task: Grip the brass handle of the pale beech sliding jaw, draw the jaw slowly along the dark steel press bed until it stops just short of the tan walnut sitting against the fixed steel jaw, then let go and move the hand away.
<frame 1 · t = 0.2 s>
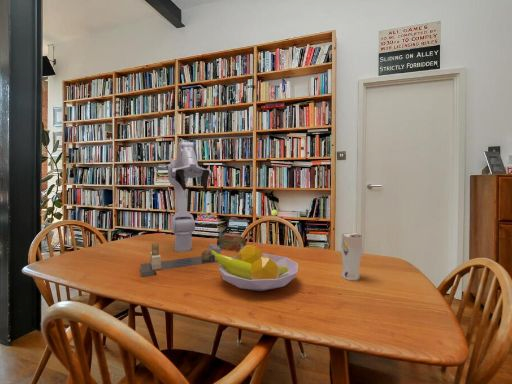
hand: (195, 188, 96), 31 cm above the table, tool tilted 45°, fingers open, 7 cm apart
sliding jaw: (155, 254, 100), point 6 cm above the table, slide at 0.0 cm
beer glass: (350, 277, 94), on the table
fruit bowl: (255, 282, 90), on the table
tin: (231, 253, 123), on the table
walnut: (206, 259, 109), point 1 cm above the table, touching press bed
press bed: (182, 266, 105), on the table
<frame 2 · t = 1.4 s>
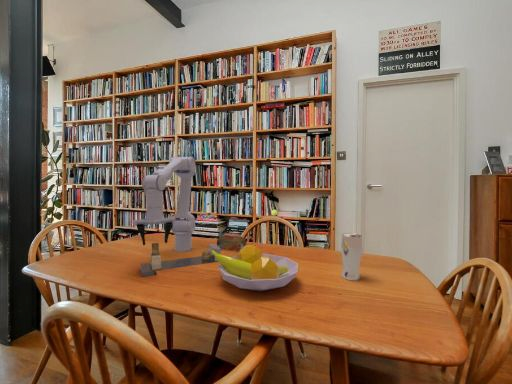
hand: (155, 243, 100), 10 cm above the table, tool pointing down, fingers open, 7 cm apart
nothing on the table moved.
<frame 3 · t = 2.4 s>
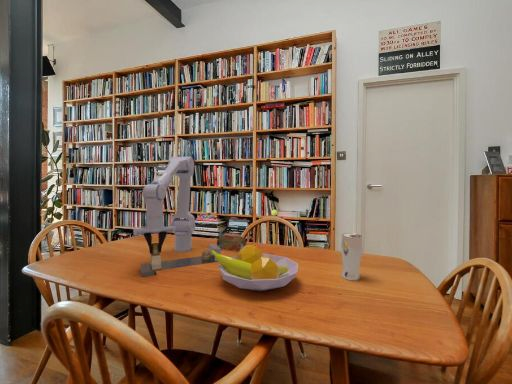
hand: (155, 252, 100), 7 cm above the table, tool pointing down, fingers closed on sliding jaw, 2 cm apart
sliding jaw: (155, 254, 100), point 6 cm above the table, slide at 0.0 cm, touching gripper
everything else where it was.
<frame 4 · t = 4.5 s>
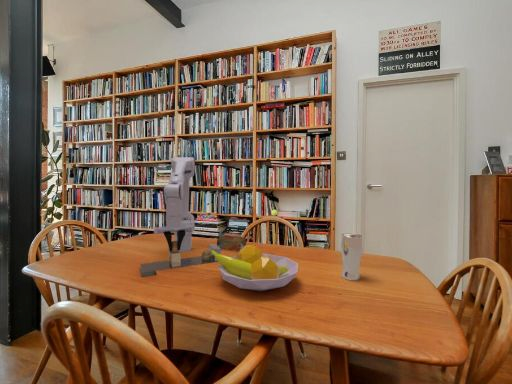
hand: (174, 250, 103), 7 cm above the table, tool pointing down, fingers closed on sliding jaw, 2 cm apart
sliding jaw: (174, 252, 103), point 6 cm above the table, slide at 7.0 cm, touching gripper
everything else where it was.
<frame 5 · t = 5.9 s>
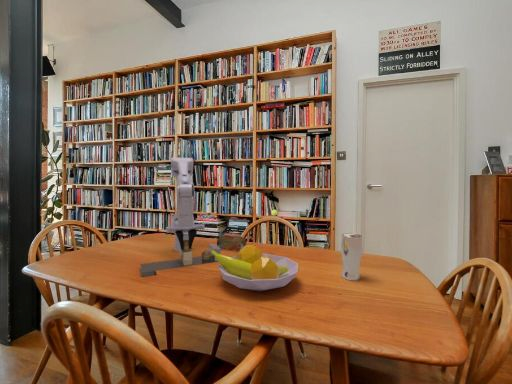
hand: (186, 249, 105), 7 cm above the table, tool pointing down, fingers closed on sliding jaw, 2 cm apart
sliding jaw: (186, 251, 105), point 6 cm above the table, slide at 11.3 cm, touching gripper
everything else where it was.
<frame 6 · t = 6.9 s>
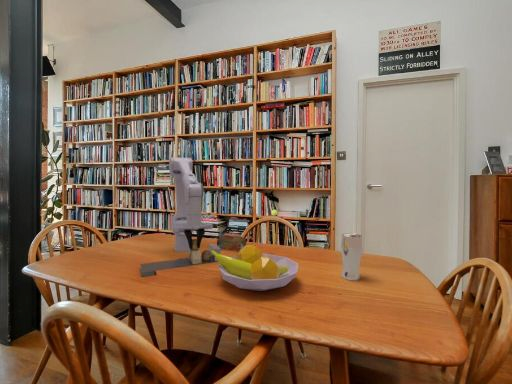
hand: (194, 248, 106), 7 cm above the table, tool pointing down, fingers closed on sliding jaw, 2 cm apart
sliding jaw: (194, 250, 106), point 6 cm above the table, slide at 14.7 cm, touching gripper
everything else where it was.
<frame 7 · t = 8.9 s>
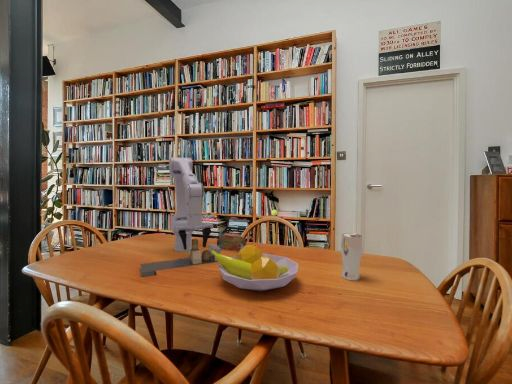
hand: (194, 248, 106), 7 cm above the table, tool pointing down, fingers open, 7 cm apart
sliding jaw: (194, 250, 107), point 6 cm above the table, slide at 14.8 cm
everything else where it was.
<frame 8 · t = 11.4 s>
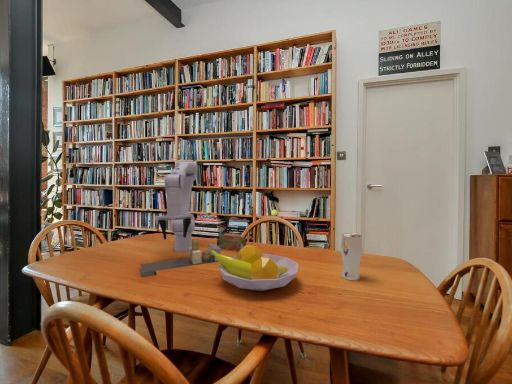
hand: (174, 237, 108), 10 cm above the table, tool pointing down, fingers open, 7 cm apart
nothing on the table moved.
at the end: sliding jaw slide at 14.8 cm; sliding jaw touching nothing; walnut moved 0.0 cm from its start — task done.
